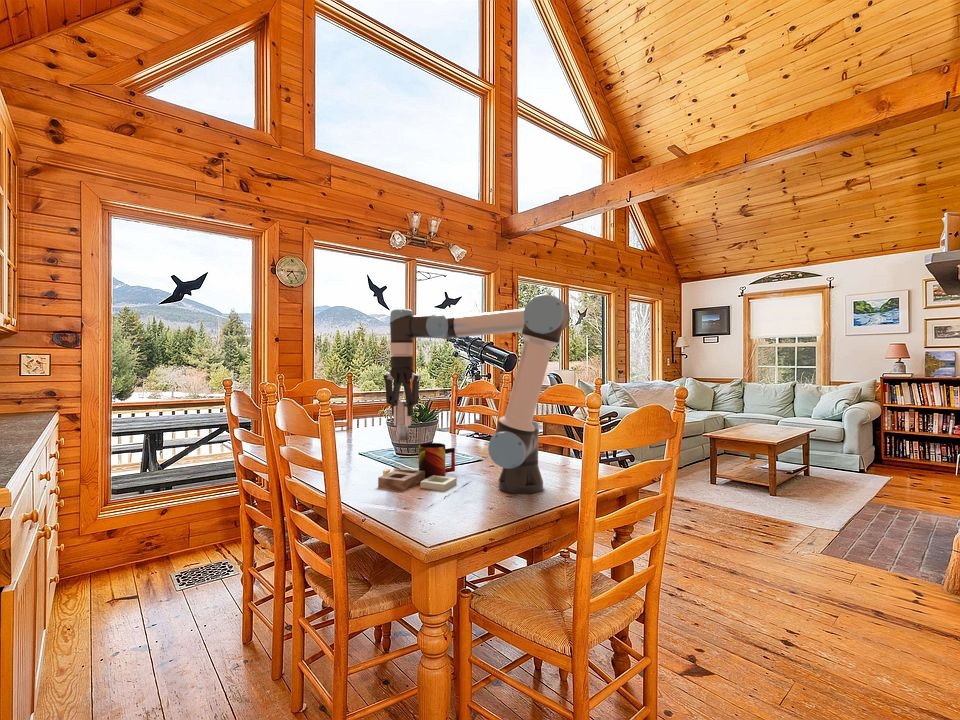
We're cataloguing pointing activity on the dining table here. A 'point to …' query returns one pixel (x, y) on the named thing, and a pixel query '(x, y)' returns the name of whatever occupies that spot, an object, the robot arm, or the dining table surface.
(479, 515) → the dining table surface
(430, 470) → the mug
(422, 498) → the dining table surface
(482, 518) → the dining table surface
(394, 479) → the socket block
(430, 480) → the cream square frame
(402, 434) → the peg
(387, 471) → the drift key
